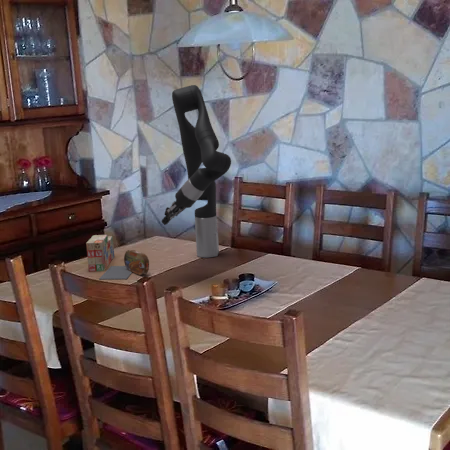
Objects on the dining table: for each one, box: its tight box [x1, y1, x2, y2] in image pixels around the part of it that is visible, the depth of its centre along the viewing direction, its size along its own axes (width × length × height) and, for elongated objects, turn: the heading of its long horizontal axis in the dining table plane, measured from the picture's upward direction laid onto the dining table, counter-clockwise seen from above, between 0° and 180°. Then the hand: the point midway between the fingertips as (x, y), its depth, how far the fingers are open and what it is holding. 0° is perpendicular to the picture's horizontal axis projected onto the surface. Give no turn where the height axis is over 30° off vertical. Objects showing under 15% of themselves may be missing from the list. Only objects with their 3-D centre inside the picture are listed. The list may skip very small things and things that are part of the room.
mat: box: [98, 265, 133, 281], centre depth 252 cm, size 11×17×1 cm, turn 174°
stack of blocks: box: [85, 234, 115, 272], centre depth 264 cm, size 21×6×12 cm, turn 178°
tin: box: [123, 249, 150, 276], centre depth 250 cm, size 15×3×8 cm, turn 40°
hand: (163, 222), depth 241 cm, fingers closed
